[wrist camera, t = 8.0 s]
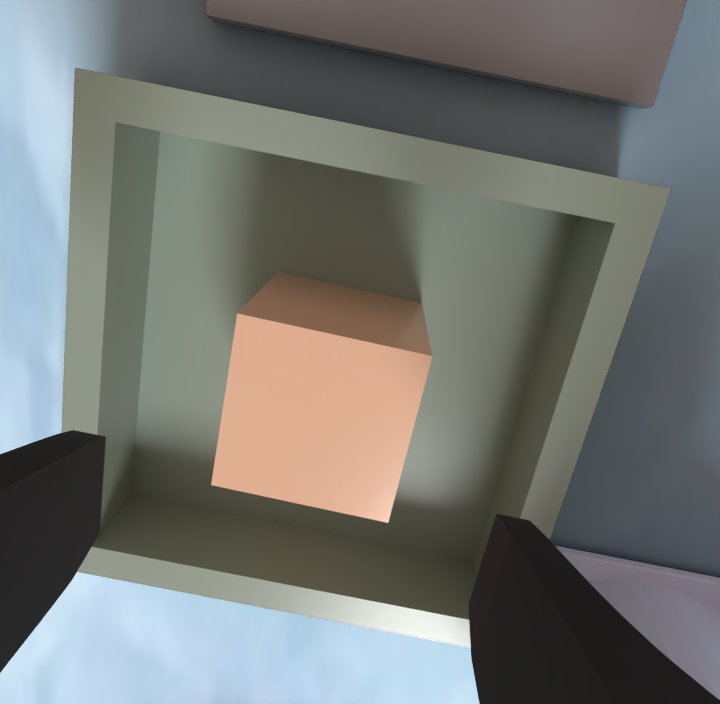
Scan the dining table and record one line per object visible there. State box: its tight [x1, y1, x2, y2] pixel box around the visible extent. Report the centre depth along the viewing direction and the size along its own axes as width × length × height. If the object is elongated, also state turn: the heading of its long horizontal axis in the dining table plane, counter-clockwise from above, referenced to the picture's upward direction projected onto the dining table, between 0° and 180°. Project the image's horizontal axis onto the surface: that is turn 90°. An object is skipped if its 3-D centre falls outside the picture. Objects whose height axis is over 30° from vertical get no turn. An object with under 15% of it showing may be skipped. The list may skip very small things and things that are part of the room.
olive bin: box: [62, 68, 671, 648], centre depth 18 cm, size 14×14×4 cm
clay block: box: [211, 272, 432, 523], centre depth 16 cm, size 4×4×5 cm
